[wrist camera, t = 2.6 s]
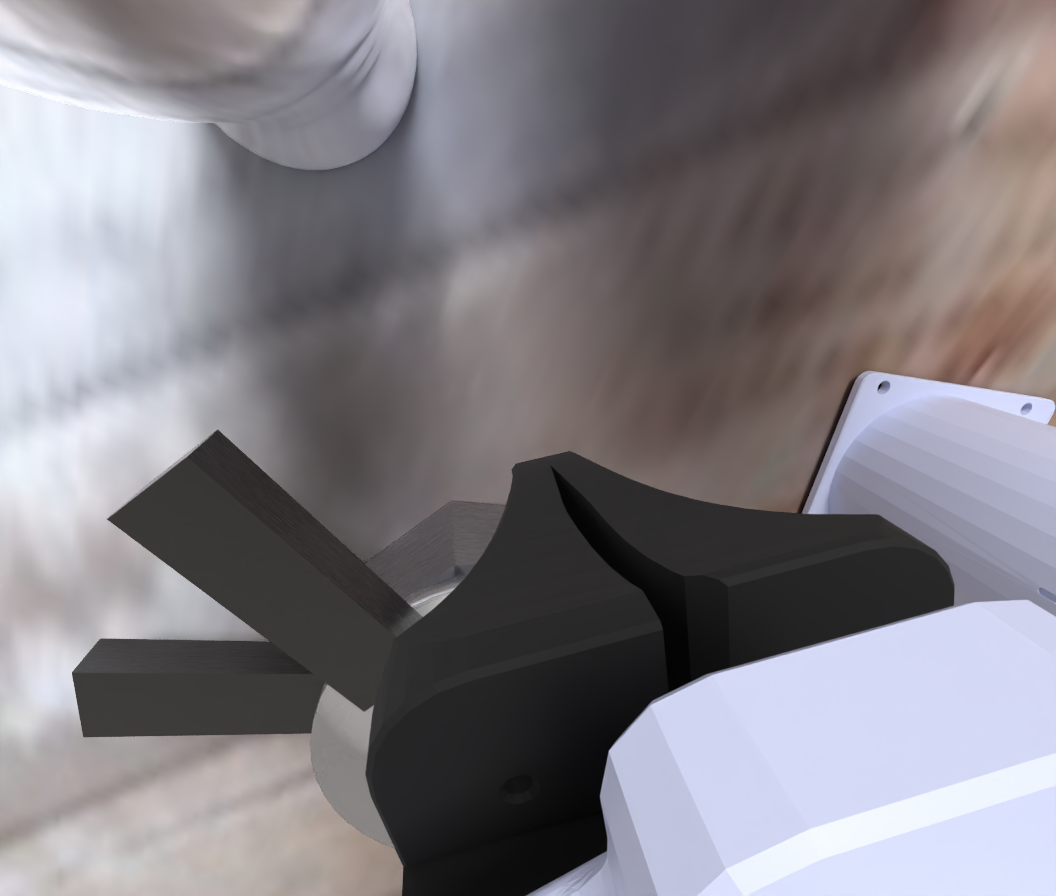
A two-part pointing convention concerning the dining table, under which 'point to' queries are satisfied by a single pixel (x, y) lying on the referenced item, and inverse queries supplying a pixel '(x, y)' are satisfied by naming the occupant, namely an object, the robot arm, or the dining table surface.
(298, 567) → the lid
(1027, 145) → the dining table surface
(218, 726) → the pot
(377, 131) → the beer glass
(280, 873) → the dining table surface
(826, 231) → the dining table surface
